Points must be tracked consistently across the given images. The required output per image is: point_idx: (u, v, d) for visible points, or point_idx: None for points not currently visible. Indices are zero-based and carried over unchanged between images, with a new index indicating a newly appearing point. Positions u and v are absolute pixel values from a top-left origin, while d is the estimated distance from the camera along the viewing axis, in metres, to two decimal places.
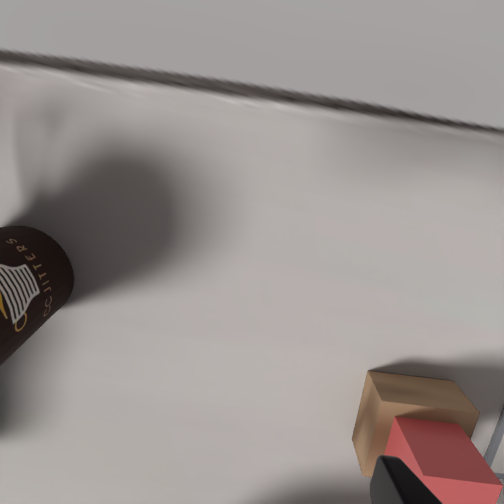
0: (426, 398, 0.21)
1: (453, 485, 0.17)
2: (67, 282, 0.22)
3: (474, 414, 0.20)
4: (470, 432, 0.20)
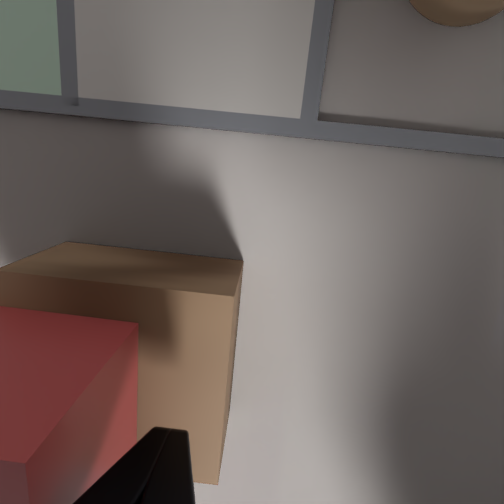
0: None
1: None
2: None
3: (2, 280, 0.08)
4: (53, 282, 0.08)
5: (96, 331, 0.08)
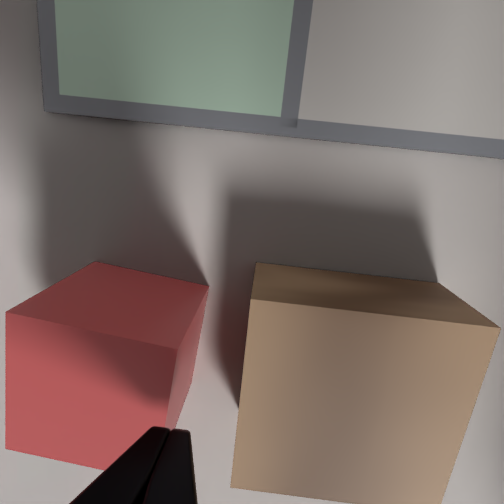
0: None
1: None
2: None
3: (256, 309, 0.08)
4: (311, 312, 0.08)
5: (162, 327, 0.08)
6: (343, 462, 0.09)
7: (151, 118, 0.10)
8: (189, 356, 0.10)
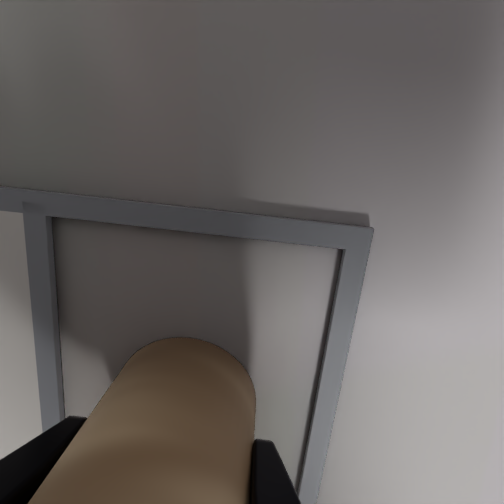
0: None
1: None
2: None
3: None
4: None
5: None
6: None
7: None
8: None
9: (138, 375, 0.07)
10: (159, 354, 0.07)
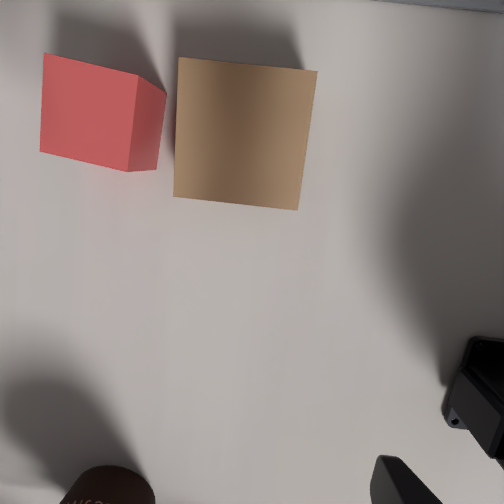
0: None
1: None
2: (110, 474, 0.24)
3: (182, 64, 0.14)
4: (212, 64, 0.14)
5: None
6: (239, 173, 0.15)
7: None
8: (151, 122, 0.16)
9: None
10: None
